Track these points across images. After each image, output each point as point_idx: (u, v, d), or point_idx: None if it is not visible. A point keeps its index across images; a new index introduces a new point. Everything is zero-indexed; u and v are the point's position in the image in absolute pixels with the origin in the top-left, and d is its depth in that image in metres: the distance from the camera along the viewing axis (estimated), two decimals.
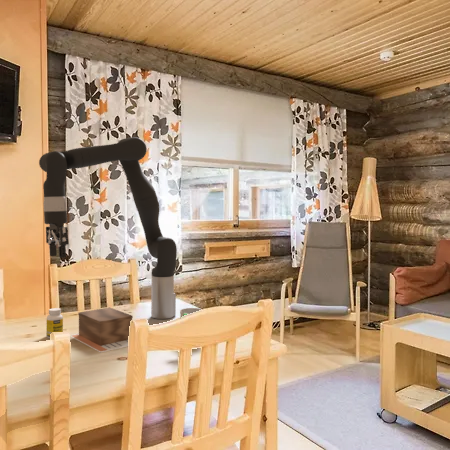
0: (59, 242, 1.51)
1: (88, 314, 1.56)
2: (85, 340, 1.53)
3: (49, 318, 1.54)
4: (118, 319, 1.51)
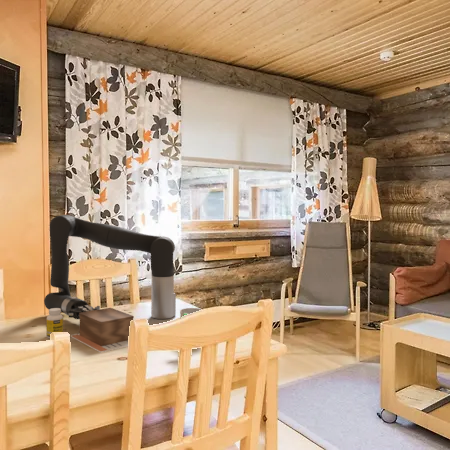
0: None
1: (89, 314, 1.55)
2: (85, 340, 1.53)
3: (49, 318, 1.54)
4: (119, 319, 1.51)
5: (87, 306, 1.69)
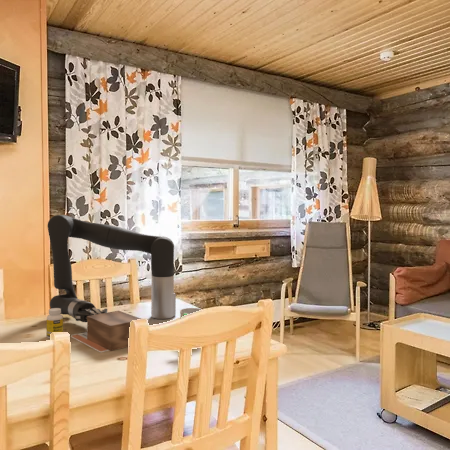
0: None
1: (97, 318, 1.51)
2: (85, 340, 1.53)
3: (49, 318, 1.54)
4: (129, 323, 1.46)
5: (94, 309, 1.65)
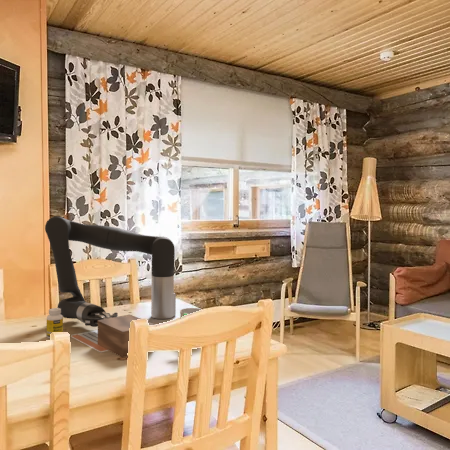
0: None
1: (108, 322, 1.45)
2: (85, 340, 1.53)
3: (49, 318, 1.54)
4: None
5: (104, 313, 1.59)
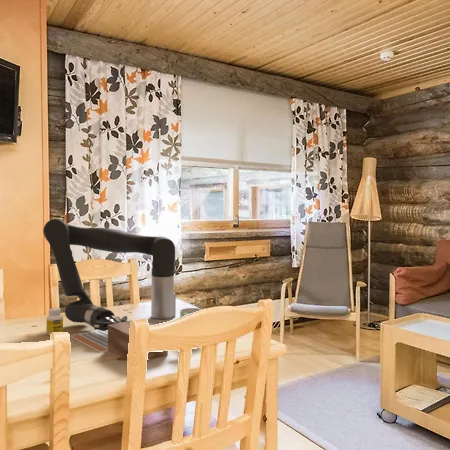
0: None
1: (119, 327, 1.40)
2: (85, 340, 1.53)
3: (49, 318, 1.54)
4: None
5: (114, 317, 1.54)
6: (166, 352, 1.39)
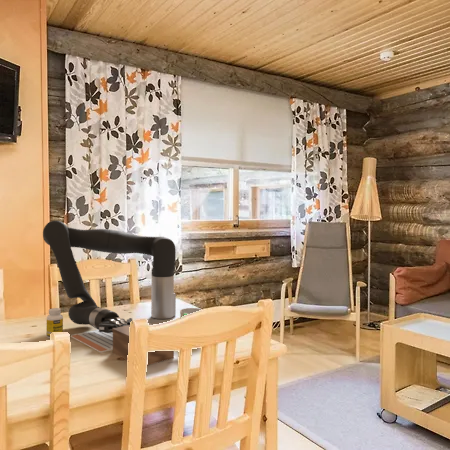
0: None
1: (124, 331, 1.38)
2: (85, 340, 1.53)
3: (49, 318, 1.54)
4: None
5: (119, 319, 1.52)
6: (172, 355, 1.37)
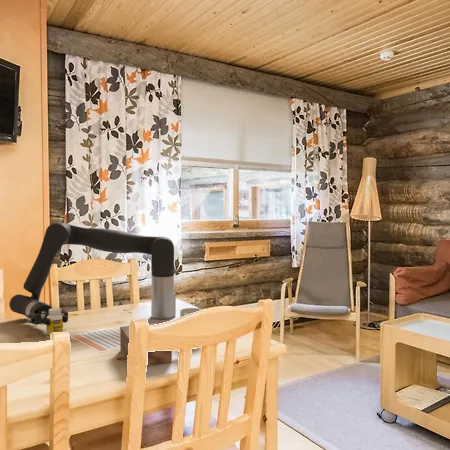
0: (41, 322, 1.56)
1: (127, 330, 1.38)
2: (85, 340, 1.53)
3: (49, 318, 1.54)
4: None
5: None
6: (169, 360, 1.33)
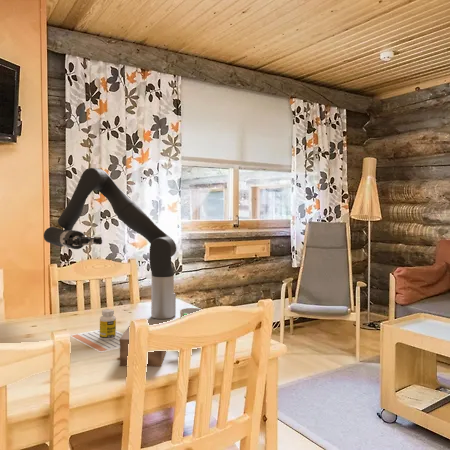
0: None
1: None
2: (85, 340, 1.53)
3: (103, 319, 1.53)
4: None
5: (86, 236, 1.79)
6: (159, 363, 1.30)
